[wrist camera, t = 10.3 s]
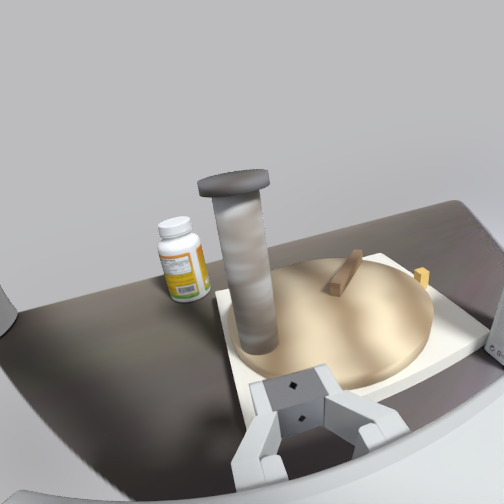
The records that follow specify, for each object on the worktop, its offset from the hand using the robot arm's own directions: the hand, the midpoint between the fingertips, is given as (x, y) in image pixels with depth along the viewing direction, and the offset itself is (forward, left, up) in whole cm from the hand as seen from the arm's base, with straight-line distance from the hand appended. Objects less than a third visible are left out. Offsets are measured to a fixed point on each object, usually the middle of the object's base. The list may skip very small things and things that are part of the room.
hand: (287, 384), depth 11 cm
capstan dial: (+8, +14, -8) cm, 18 cm away
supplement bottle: (-5, +28, -10) cm, 30 cm away
